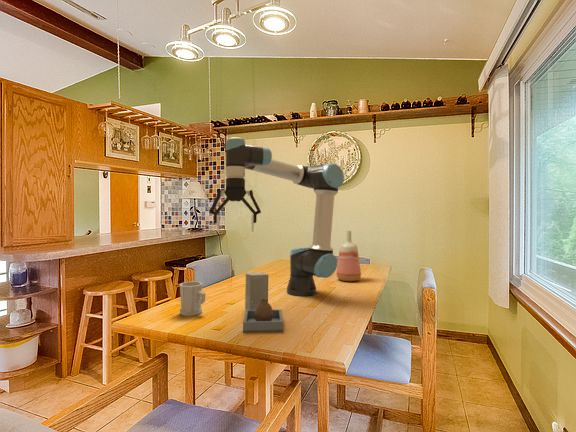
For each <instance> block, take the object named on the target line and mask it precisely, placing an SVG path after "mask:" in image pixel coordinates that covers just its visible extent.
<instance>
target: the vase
mask: <svg viewBox="0 0 576 432" xmlns="http://www.w3.org/2000/svg"><path fill="white" fill-rule="evenodd" d="M273 310H274V309H273V307H272V305H271V304H270V303H269V300H268V301H267V300H266V299H261V300H260V302H259V304H258V305H257V306H256V308H255V312H254V317H255V320H256V321H271V320H272V318H273Z"/></svg>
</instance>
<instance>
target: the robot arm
mask: <svg viewBox="0 0 576 432" xmlns="http://www.w3.org/2000/svg"><path fill="white" fill-rule="evenodd" d="M225 141H226V142H225V177H226V178H225V190H221V189H218V190H217V195H216V197H215V199H214V201H213V203H212V205H211V206H210V208H209V210H208V212H209V214H211V215H213V222H214V224H216V232H217V233H218V232H220V214H219V213H220V212H221V211H222V210H223V208H224V207H225V206H226V205H227V204H228V202H241V201H242V203H243V204H244V205H245V206H246V207H247V209H249V211H250V212H251V213H252V214H251V232H254V229H255V228H254V226H255V224H256V223H257V221H258V220H257V215H259V214H261V213H262V211H261V208H260V206H259V204H258V203H257V201H256V198H255V196H254V192H253V190H252V189H250V190H246V179H245V176H246V170H250V171H254V172H257V173H261V174H265V175H269V176H272V177H275V178H276V177H277V178H279V179H284V180H288V181H291V182H292V183H293V184H294V185H298V186H302V187H305V188H308V189H312V190H313V193H315V195H316V196H315V207H314V208H315V210H314V219H313V230H312V231H313V232H312V233H313V234H312V242H311V243H312V244H311V245H309V246H306V247H293V248H291V250H290V255H289V260H290V265H289V266H290V267H289V270H290V275H289V279H288V284H287V286H286V293H287V294H288V295H291V296H298V297H308V296H313V295H316V294H317V286H316V283H315V280H314V277H317V278H323V279H327V278H330V277H331V276H332V275H333V274H334V273H335V272H336V271H337V265H338V258H337V257H336V256H335V255H334V248H333V247H332V246H331V241H332V240H331V239H332V232H333V231H332V229H333V216H334V205H335V196H336V195H337V194H338V193H339V192H338V191H339V188H340V187H342V185H344V182H345V175H344V172H343V170H342V168H341V167H340V166H339V165H338V164H336V163H328V162H327V163H323V164H317V165H310V166H309V165H308V166H305V165H301V164H297V165H295V164H291V163H286V162H284V161H280V160H277V159H273V153H272V150H271V149H270V148H269V147H264V146H257V145H247V144H246V140H245V139H244V138H242V137H229V138H227V139H226V140H225ZM223 195H225V196H226V198H225V199H224V200H223V201H222V202H221V203H220V205H219V206H218V207H217V205H218V203H219V201H220V199H221V197H222V196H223ZM246 195H247V196H248V197H250V200H251V201H252V204H253V205H254V208H255V209H256V211H255V209H254V208H253V207H252V206H251V205H250V203H249V202H248V201H247V200H246V198H245V196H246ZM216 207H217V209H216Z"/></svg>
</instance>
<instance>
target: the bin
mask: <svg viewBox="0 0 576 432" xmlns="http://www.w3.org/2000/svg"><path fill="white" fill-rule="evenodd" d="M272 310H273V318H272V320H271V321H256V320H255V317H254V312H255V310H244V311H245V312H244V316H243V321H242V333H278V332H279V333H283V332H284V319H283V312H282V311H283V310H282V309H279V308H278V309H272Z"/></svg>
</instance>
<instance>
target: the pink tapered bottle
mask: <svg viewBox="0 0 576 432" xmlns="http://www.w3.org/2000/svg"><path fill="white" fill-rule="evenodd" d="M345 240H346V241H345V242H344V243H341V245H340V246H339V250H338V251H339V253H338V258H337V268H336V273H335V275H336V277H337V279H338V280H340V281H342V282H347V281H348V282H350V283H351V282H352V281H353V282H357V281H359V280H360V279H361V277H362V272H361V264H360V257H359V255H360V254H359V250H358V246H357V244H356V243H354V242H352V230H347V231H346V239H345Z"/></svg>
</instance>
